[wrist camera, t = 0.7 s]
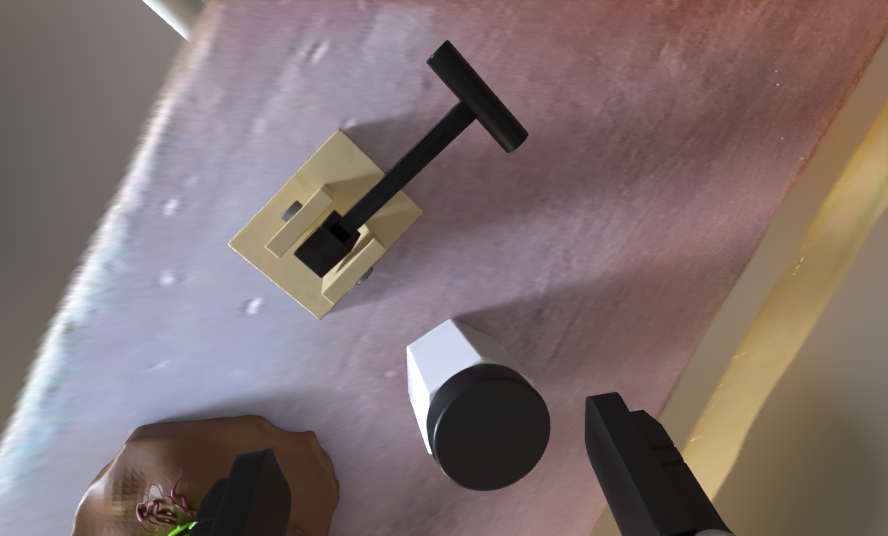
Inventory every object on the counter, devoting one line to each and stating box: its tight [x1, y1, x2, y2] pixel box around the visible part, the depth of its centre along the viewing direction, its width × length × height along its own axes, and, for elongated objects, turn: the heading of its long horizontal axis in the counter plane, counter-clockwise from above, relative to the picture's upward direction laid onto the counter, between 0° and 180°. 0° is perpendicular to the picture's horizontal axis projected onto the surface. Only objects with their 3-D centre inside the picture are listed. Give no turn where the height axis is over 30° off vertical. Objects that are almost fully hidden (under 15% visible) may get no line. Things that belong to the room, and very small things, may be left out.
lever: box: [293, 40, 528, 278], centre depth 26 cm, size 14×6×2 cm, turn 135°
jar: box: [407, 318, 550, 491], centre depth 37 cm, size 9×8×12 cm
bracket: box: [228, 128, 423, 320], centre depth 32 cm, size 12×9×12 cm
